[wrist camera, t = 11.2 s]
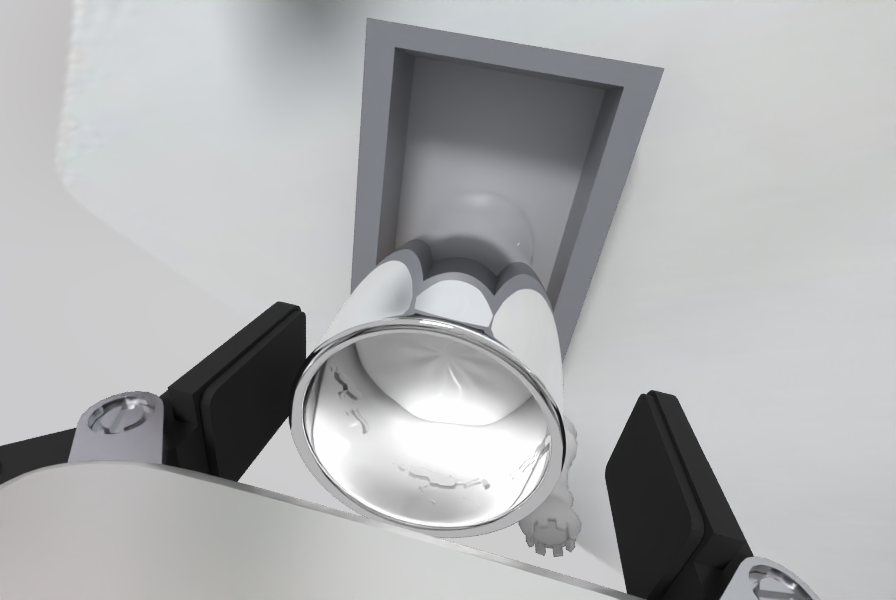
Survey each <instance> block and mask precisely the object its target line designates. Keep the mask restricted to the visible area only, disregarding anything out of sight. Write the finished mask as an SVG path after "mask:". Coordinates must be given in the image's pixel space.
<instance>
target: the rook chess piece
mask: <svg viewBox="0 0 896 600" xmlns="http://www.w3.org/2000/svg"><path fill="white" fill-rule="evenodd" d="M563 419H564V427H565V432H566V457H565V463H564V467H563V470H562V473H561V476H560V478H559V481H558V483H557V484H556V486H555V488H554V490H553V491H552V492H551V494H550V495H549V496H548V498H547V499H546V500H545V501H544V502H543V503H542V504H541V505H540V506H539V507H538V508H537V509H536V510H535V511H533V512H532V513H531V514H530V515H528V516H527V517H525V518H524V519H522V520H520V521H519V526H520V528H521V530H522V532H523V533H524V534H525V535H526V542H527V544H528V546H529V547H532V546H534V543H535V547H536V553H538V554H541V555H543V556H544V555H545V553H546V549H545V548H552V549H553V555H554V557H558V556H563V550H562V547H564V546H566V550H568V551H569V552H571V551H572V550H573V549H574V548H575V541H576V536H577V534H578V533H579V532H580V529H581V521H580V519H579V517H578V515H577V514H576V513H575V512H574V511H573V510H572V509H571V507H572V505H573V497H572V495H571V492H570V491H569V490H568V469H569V468H570V466H571V465H572V461H573V460H574V458H575V456H576V451H577V441H576V436H577V433H576V430H575V428H574V425H573V423H572V422H570V421H569V420H568V419H567V418H566V417H565V416H564V415H563Z"/></svg>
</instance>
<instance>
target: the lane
mask: <svg viewBox="0 0 896 600" xmlns="http://www.w3.org/2000/svg"><path fill="white" fill-rule="evenodd" d="M663 71H664V68H660V67H654V66H648V65H642V64H636V63H630V62H624V61H618V60H612V59H606V58H601V57H595V56H589V55H583V54H577V53H571V52H565V51H559V50H553V49H547V48H542V47H536V46H530V45H524V44H518V43H512V42H506V41H500V40H494V39H488V38H483V37H477V36H471V35H465V34H459V33H453V32H447V31H441V30H435V29H429V28H424V27H418V26H412V25H406V24H400V23H394V22H388V21H382V20H376V19H370V18H367V26H366V43H365V60H364V77H363V93H362V110H361V127H360V144H359V160H358V177H357V194H356V211H355V227H354V244H353V261H352V278H351V294H352V293H353V291H354V290H355V289H356V288H357V286H358V285H359V284H360V282H361V281H362V280H363V279H364V278H365V277H366V276H367V275H368V274H369V273H370V272H371V271H372V270H373V269H374V268H375V267H376V266H377V265H378V264H379V263H380V262H381V261H382V260H383V259H384V258H385V257H386V256H387V255H388V254H390V253H391V252H392V251H394V250H396V249H397V248H399V247H400V246H402V245H403V244H405V243H406V242H408V241H409V240H411V239H413V238H415V237H417V236H419V235H421V234H423V233H424V229H425V226H426V224H427V222H428V220H429V218H430V217H431V215H432V214H433V212H434V211H435V210H436V209H437V208H438V207H439V206H440V205H441V204H442V203H443V202H445V201H446V200H448V199H450V198H451V197H454V196H456V195H459V194H462V193H466V192H475V191H478V192H488V193H492V194H495V195H498V196H500V197H502V198H504V199H506V200H507V201H509V202H510V203H512V204H513V205H514V206H515V207H516V208H517V209H518V210H519V211H520V212H521V213H522V214H523V216H524V217H525V219H526V221H527V223H528V225H529V227H530V230H531V234H532V240H533V253H532V259H531V262H530V263H531V265H532V266H533V268H534V269H535V271H536V273H537V274H538V276H539V278H540V280H541V282H542V284H543V287H544V289H545V291H546V293H547V295H548V297H549V300H550V303H551V306H552V310H553V314H554V318H555V322H556V326H557V330H558V335H559V343H560V352H561V360H562V363H563V360H564V357H565V355H566V352H567V349H568V346H569V343H570V340H571V337H572V334H573V331H574V329H575V326H576V323H577V320H578V317H579V314H580V311H581V308H582V305H583V302H584V300H585V297H586V294H587V291H588V288H589V285H590V282H591V279H592V276H593V274H594V271H595V268H596V265H597V262H598V259H599V256H600V253H601V250H602V248H603V245H604V242H605V239H606V236H607V233H608V230H609V227H610V224H611V222H612V219H613V216H614V213H615V210H616V207H617V204H618V201H619V198H620V196H621V193H622V190H623V187H624V184H625V181H626V178H627V175H628V172H629V170H630V167H631V164H632V161H633V158H634V155H635V152H636V149H637V146H638V144H639V141H640V138H641V135H642V132H643V129H644V126H645V123H646V120H647V117H648V115H649V112H650V109H651V106H652V103H653V100H654V97H655V94H656V91H657V89H658V86H659V83H660V80H661V77H662V74H663ZM351 294H350V295H351Z"/></svg>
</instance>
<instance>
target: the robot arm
mask: <svg viewBox="0 0 896 600" xmlns="http://www.w3.org/2000/svg"><path fill="white" fill-rule="evenodd" d="M305 360H306V315H305V313H304V312H301V309H300V307H299V306H297V305H293V304H289V303H284V302H276V303H275V304H274V305H272V306H271V307H270V308H269V309H267V310H266V311H265V312H263V313H262V314H261V315H260V316H258V317H257V318H256V319H254V320H253V321H252V322H251V323H249V324H248V325H247V326H246V327H244V328H243V329H242V330H241V331H239V332H238V333H237V334H235V335H234V336H233V337H232V338H230V339H229V340H228V341H227V342H225V343H224V344H223V345H221V346H220V347H219V348H218V349H216V350H215V351H214V352H213V353H211V354H210V355H209V356H207V357H206V358H205V359H204V360H202V361H201V362H200V363H199V364H197V365H196V366H195V367H193V368H192V369H191V370H190V371H188V372H187V373H186V374H184V375H183V376H182V377H181V378H179V379H178V380H177V381H176V382H174V383H173V384H172V385H170V386H169V387H168V390H167V391H166V392H165V393H164V394H162V395H161V396H160V397H158V396H157V395H155V394H152V393H149V392H140V391H135V392H125V393H121V394H117V395H113V396H111V397H108V398H106V399H104V400H101V401H99V402H98V403H96V404H94V405H93V406H91V407H90V408H89V409H88V410H87V411H86V412H85V413H83V414H82V416H81V418H80V420H79V422H78V424H77V428H74V429H69V430H65V431H61V432H57V433H53V434H48V435H44V436H40V437H36V438H32V439H28V440H24V441H19V442H15V443H11V444H7V445H3V446H0V600H820V599H819V597H818V596H817V595H816V594H815V593H814V592H813V591H812V590H811V588H810V587H809V586H808V585H807V584H806V583H805V582H803V581H802V580H801V579H800V578H799V577H798V576H796V575H795V574H794V573H793V572H791V571H790V570H788V569H786V568H785V567H783V566H782V565H780V564H778V563H776V562H773V561H771V560H769V559H766V558H761V557H754V556H753V553H752V551H751V549H750V547H749V545H748V543H747V541H746V539H745V537H744V535H743V533H742V531H741V529H740V527H739V525H738V522H737V520H736V518H735V516H734V514H733V512H732V510H731V508H730V506H729V504H728V502H727V500H726V498H725V496H724V493H723V491H722V489H721V487H720V485H719V483H718V481H717V479H716V477H715V475H714V473H713V471H712V469H711V467H710V465H709V462H708V461H707V459H706V457H705V455H704V453H703V451H702V449H701V447H700V445H699V443H698V441H697V438H696V436H695V434H694V432H693V430H692V428H691V426H690V424H689V422H688V420H687V418H686V416H685V414H684V412H683V409H682V407H681V405H680V403H679V401H678V399H677V398H676V396H674V395H670V394H666V393H662V392H658V391H654V390H651V391H649V392H648V393H647V394H641V395H640V396H639V398H638V400H637V402H636V404H635V407H634V409H633V411H632V413H631V415H630V417H629V419H628V421H627V423H626V425H625V427H624V430H623V432H622V434H621V436H620V438H619V440H618V442H617V444H616V446H615V448H614V451H613V453H612V455H611V457H610V459H609V461H608V463H607V466H606V470H605V479H606V485H607V490H608V495H609V501H610V506H611V511H612V516H613V522H614V527H615V532H616V537H617V543H618V548H619V553H620V559H621V564H622V569H623V574H624V580H625V585H626V590H627V594H626V593H623V592H619V591H616V590H613V589H610V588H607V587H603V586H600V585H597V584H594V583H591V582H587V581H584V580H581V579H577V578H574V577H570V576H567V575H563V574H560V573H556V572H553V571H550V570H546V569H543V568H539V567H536V566H532V565H529V564H525V563H522V562H519V561H515V560H512V559H508V558H505V557H501V556H498V555H494V554H491V553H488V552H484V551H481V550H477V549H474V548H471V547H467V546H464V545H460V544H456V543H453V542H449V541H446V540H442V539H439V538H436V537H432V536H429V535H425V534H422V533H418V532H415V531H411V530H408V529H404V528H401V527H397V526H394V525H390V524H387V523H383V522H379V521H376V520H372V519H369V518H365V517H362V516H358V515H355V514H351V513H347V512H344V511H340V510H337V509H333V508H330V507H326V506H323V505H319V504H315V503H312V502H308V501H305V500H301V499H297V498H294V497H290V496H287V495H283V494H280V493H275V492H272V491H269V490H265V489H262V488H258V487H254V486H251V485H247V484H243V483H239V482H238V480H239V479H240V478H241V476H242V475H243V474H244V473H245V471H246V470H247V469H248V467H249V466H250V465H251V463H252V462H253V461H254V460H255V458H256V457H257V456H258V455H259V453H260V452H261V451H262V449H263V448H264V447H265V445H266V444H267V443H268V442H269V440H270V439H271V438H272V436H273V435H274V434H275V433H276V431H277V430H278V429H279V427H280V426H281V425H282V424H283V422H284V421H285V420H286V419H287V417H288V416H289V415H288V405H289V396H290V391H291V388H292V384H293V382H294V379H295V377H296V375H297V373H298V371H299V369H300V367H301V366H302V364H303V363H304V361H305Z"/></svg>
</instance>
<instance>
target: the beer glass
mask: <svg viewBox="0 0 896 600" xmlns="http://www.w3.org/2000/svg"><path fill="white" fill-rule="evenodd" d="M532 253H533V240H532V234H531V230H530V227H529V225H528V223H527V221H526V219H525V217H524V216H523V214H522V213H521V212H520V211H519V210H518V209H517V208H516V207H515V206H514V205H513V204H512V203H510V202H509V201H507V200H506V199H504V198H502V197H500V196H498V195H495V194H492V193H488V192H478V191H475V192H466V193H462V194H459V195H456V196H454V197H451V198H450V199H448V200H446V201H445V202H443V203H442V204H441V205H440V206H439V207H438V208H437V209H436V210H435V211H434V212H433V214H432V215H431V217H430V218H429V220H428V222H427V224H426V226H425V229H424V233H423V234H421V235H419V236H417V237H415V238H413V239H411V240H409V241H408V242H406V243H405V244H403V245H402V246H400V247H399V248H397V249H396V250H394V251H392V252H391V253H390V254H388V255H387V256H386V257H385V258H384V259H383V260H382V261H381V262H380V263H379V264H378V265H377V266H376V267H375V268H374V269H373V270H372V271H371V272H370V273H369V274H368V275H367V276H366V277H365V278H364V279H363V280H362V281H361V282H360V284H359V285H358V286H357V288H356V289H355V290H354V291H353V293H352V294H351V295H350V297H349V298H348V299H347V300H346V302H345V303H344V305H343V306H342V308H341V309H340V311H339V312H338V314H337V315H336V317H335V318H334V320H333V321H332V323H331V324H330V326H329V327H328V329H327V330H326V332H325V334H324V335H323V337H322V338H321V340H320V342H319V343H318V345H317V346H316V348H315V349H314V351H313V352H312V353H311V354H310V355H309V356H308V357H307V359H306V360H305V361H304V363H303V364H302V366H301V367H300V369H299V371H298V373H297V375H296V377H295V379H294V382H293V384H292V388H291V391H290V396H289V405H288V415H289V424H290V429H291V434H292V437H293V440H294V443H295V445H296V448H297V450H298V452H299V454H300V456H301V458H302V460H303V461H304V463H305V465H306V466H307V467H308V469H309V470H310V472H311V473H312V474H313V476H314V477H315V478H316V479H317V480H318V482H319V483H320V484H321V485H322V486H323V487H324V488H325V489H326V490H327V491H328V492H329V493H331V494H332V495H333V496H334V497H336V498H337V499H338V500H339V501H341V502H342V503H343V504H345V505H346V506H347V507H349V508H351V509H352V510H354V511H355V512H357V513H359V514H361V515H362V516H364V517H366V518H369V519H372V520H376V521H379V522H383V523H387V524H390V525H394V526H397V527H401V528H404V529H408V530H411V531H415V532H418V533H422V534H425V535H429V536H432V537H440V538H460V537H471V536H478V535H483V534H487V533H491V532H495V531H498V530H501V529H503V528H506V527H508V526H510V525H513V524H515V523H517V522H519V521H520V520H522V519H524V518H525V517H527V516H528V515H530V514H531V513H532V512H533V511H535V510H536V509H537V508H538V507H539V506H540V505H541V504H542V503H543V502H544V501H545V500H546V499H547V498H548V496H549V495H550V494H551V492H552V491H553V490H554V488H555V486H556V484H557V483H558V481H559V478H560V476H561V473H562V470H563V467H564V463H565V457H566V432H565V427H564V419H563V375H562V360H561V352H560V343H559V335H558V330H557V326H556V322H555V318H554V314H553V310H552V306H551V303H550V300H549V297H548V295H547V293H546V291H545V289H544V287H543V284H542V282H541V280H540V278H539V276H538V274H537V273H536V271H535V269H534V268H533V266H532V265H531V263H530V262H531V259H532Z"/></svg>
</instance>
